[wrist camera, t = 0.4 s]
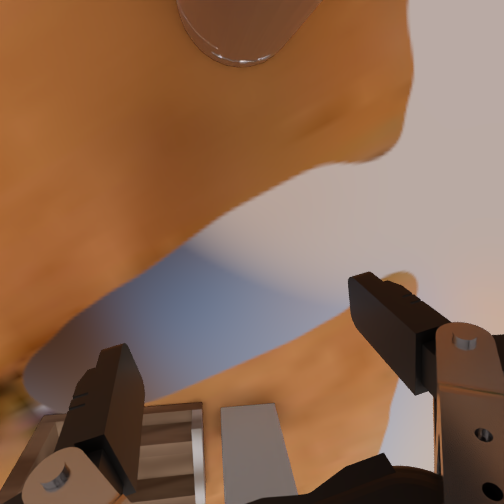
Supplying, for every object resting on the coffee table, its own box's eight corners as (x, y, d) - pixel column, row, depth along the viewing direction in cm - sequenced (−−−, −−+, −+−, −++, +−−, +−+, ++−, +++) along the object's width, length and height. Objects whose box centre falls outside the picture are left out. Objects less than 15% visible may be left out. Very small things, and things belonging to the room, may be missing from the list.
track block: (43, 415, 35) (-9, 505, 26) (202, 402, 37) (200, 481, 28) (63, 499, 39) (23, 601, 30) (205, 483, 41) (205, 574, 32)
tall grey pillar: (220, 407, 37) (227, 524, 26) (274, 403, 38) (303, 514, 27) (221, 435, 39) (227, 559, 27) (273, 430, 39) (300, 549, 28)
